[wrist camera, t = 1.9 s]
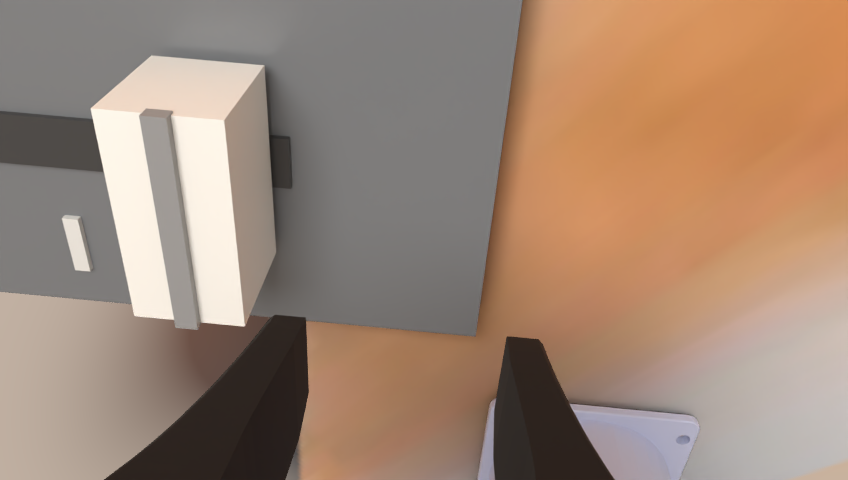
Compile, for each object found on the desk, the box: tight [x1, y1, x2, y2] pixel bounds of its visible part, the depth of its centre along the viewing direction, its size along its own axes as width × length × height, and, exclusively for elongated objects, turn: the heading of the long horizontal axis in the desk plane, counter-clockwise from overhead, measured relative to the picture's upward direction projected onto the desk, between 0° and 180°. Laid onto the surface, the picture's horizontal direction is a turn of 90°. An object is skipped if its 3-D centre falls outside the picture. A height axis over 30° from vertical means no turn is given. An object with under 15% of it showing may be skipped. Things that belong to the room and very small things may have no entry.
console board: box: [0, 0, 523, 337], centre depth 21 cm, size 12×28×2 cm, turn 86°
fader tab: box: [91, 55, 276, 330], centre depth 19 cm, size 6×3×4 cm, turn 176°
